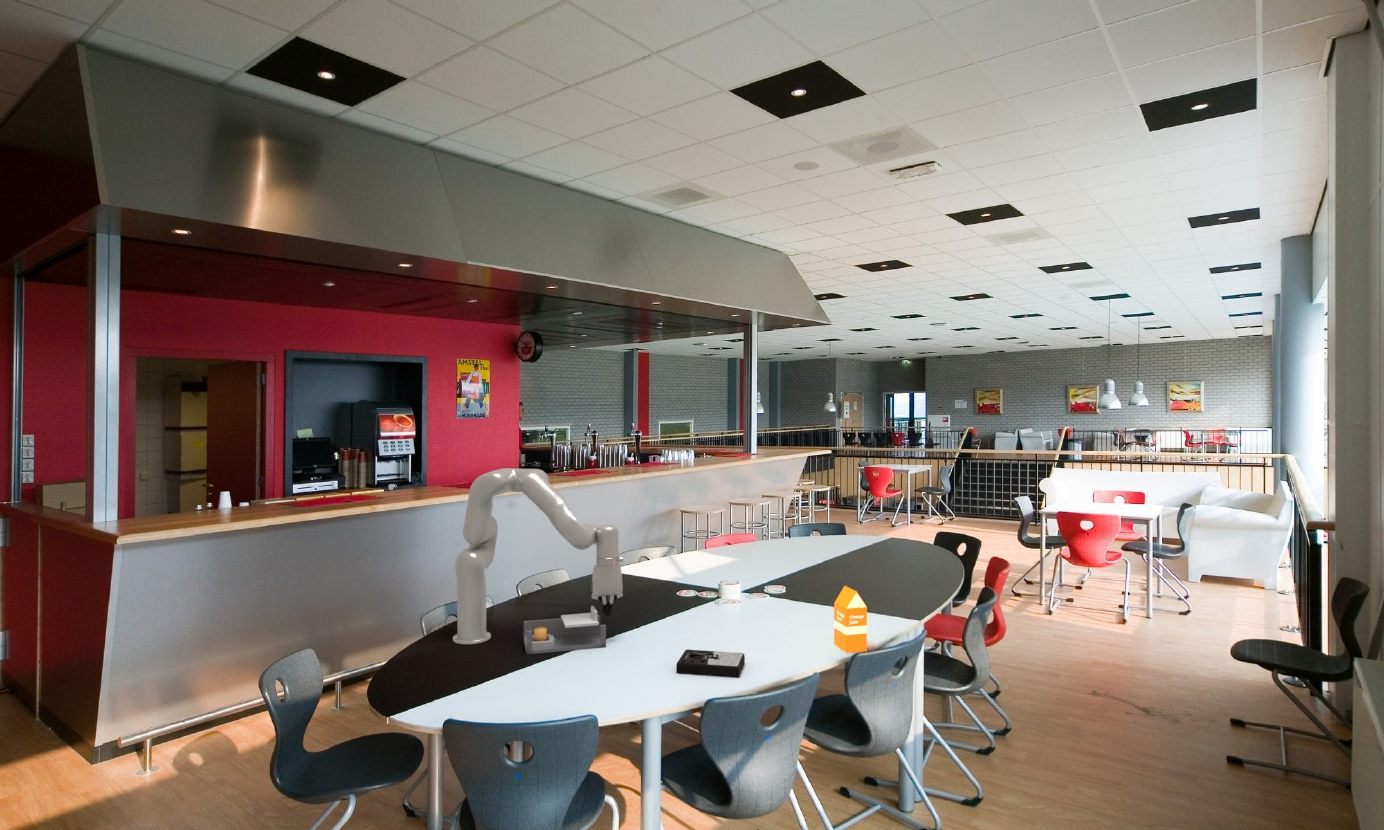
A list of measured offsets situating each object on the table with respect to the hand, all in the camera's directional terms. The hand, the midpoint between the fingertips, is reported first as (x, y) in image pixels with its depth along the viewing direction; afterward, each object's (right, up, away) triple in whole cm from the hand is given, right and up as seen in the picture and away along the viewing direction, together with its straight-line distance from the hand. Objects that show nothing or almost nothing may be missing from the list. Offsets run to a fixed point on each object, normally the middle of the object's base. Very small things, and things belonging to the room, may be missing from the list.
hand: (607, 614), depth 256 cm
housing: (-14, -9, -4) cm, 17 cm away
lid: (-9, -1, -3) cm, 10 cm away
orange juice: (+82, -9, -7) cm, 83 cm away
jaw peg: (-21, -8, -6) cm, 24 cm away
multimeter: (+35, -10, -26) cm, 45 cm away
